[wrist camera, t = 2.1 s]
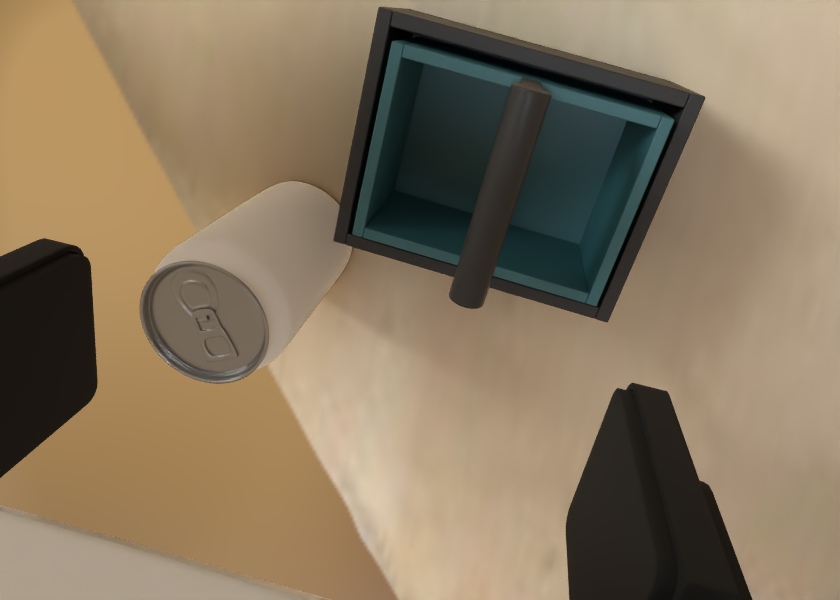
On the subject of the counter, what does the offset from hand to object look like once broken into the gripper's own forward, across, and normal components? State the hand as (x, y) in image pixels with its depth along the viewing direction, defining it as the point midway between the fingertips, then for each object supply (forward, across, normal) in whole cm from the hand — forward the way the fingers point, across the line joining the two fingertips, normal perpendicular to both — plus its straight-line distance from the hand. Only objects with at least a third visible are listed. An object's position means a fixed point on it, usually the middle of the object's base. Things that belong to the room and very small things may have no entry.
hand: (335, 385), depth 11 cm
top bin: (+24, -2, 0) cm, 24 cm away
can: (+24, +9, +7) cm, 27 cm away
